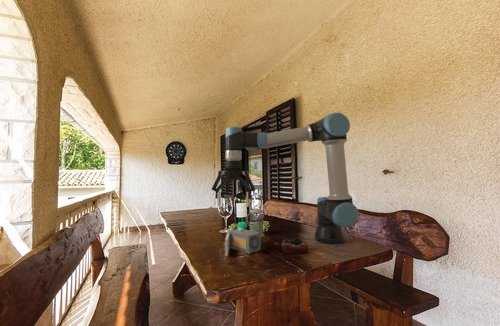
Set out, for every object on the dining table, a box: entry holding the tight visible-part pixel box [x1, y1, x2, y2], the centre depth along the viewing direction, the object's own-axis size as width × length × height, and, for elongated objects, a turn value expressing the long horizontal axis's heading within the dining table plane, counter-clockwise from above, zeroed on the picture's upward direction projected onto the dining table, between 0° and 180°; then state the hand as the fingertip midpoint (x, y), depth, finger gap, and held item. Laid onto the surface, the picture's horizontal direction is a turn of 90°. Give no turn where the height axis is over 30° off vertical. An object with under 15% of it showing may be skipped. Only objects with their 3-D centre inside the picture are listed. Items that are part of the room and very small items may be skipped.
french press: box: [245, 192, 266, 238], centre depth 144 cm, size 10×12×25 cm
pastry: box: [280, 237, 309, 255], centre depth 114 cm, size 11×12×6 cm
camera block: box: [228, 228, 262, 255], centre depth 117 cm, size 16×8×9 cm, turn 45°
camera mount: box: [237, 221, 247, 230], centre depth 132 cm, size 12×8×10 cm, turn 15°
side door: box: [223, 232, 231, 257], centre depth 112 cm, size 13×2×7 cm, turn 0°
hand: (233, 206), depth 112 cm, fingers open, 13 cm apart
